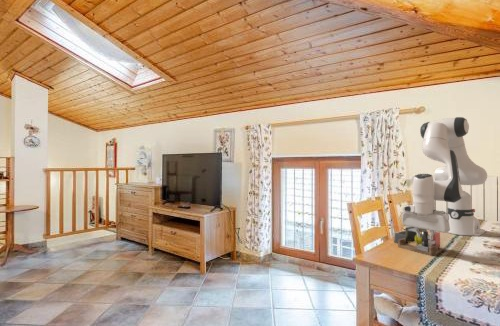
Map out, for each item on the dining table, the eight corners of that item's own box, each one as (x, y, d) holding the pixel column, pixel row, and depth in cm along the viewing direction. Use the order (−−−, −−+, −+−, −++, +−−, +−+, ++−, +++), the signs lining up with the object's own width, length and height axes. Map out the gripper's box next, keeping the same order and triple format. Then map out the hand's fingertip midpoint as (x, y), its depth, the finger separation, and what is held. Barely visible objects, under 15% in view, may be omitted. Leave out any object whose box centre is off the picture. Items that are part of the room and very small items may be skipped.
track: (404, 245, 142) (404, 238, 142) (437, 253, 128) (437, 246, 128) (398, 247, 139) (397, 239, 139) (431, 255, 125) (431, 247, 125)
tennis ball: (413, 243, 144) (413, 230, 144) (428, 244, 142) (428, 231, 142) (416, 247, 137) (416, 233, 137) (433, 248, 135) (432, 234, 135)
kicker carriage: (432, 244, 137) (432, 227, 137) (443, 247, 133) (443, 229, 133) (417, 249, 131) (416, 231, 131) (428, 252, 127) (427, 233, 127)
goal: (407, 239, 153) (406, 222, 153) (420, 242, 146) (420, 225, 146) (393, 242, 147) (393, 225, 147) (407, 245, 141) (406, 228, 141)
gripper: (452, 211, 122) (453, 242, 122) (407, 205, 140) (408, 232, 140) (444, 212, 119) (445, 244, 119) (399, 206, 137) (400, 234, 137)
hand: (424, 238), depth 130 cm, fingers open, 3 cm apart
